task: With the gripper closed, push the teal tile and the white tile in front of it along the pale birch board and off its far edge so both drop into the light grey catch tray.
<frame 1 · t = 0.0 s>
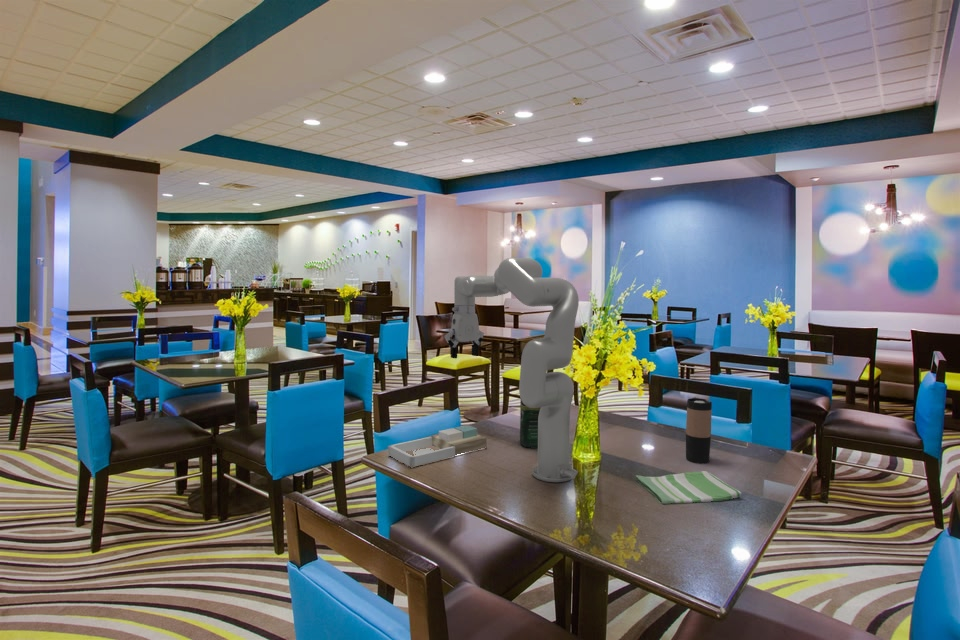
hand: (464, 356, 192), 31 cm above the table, tool pointing down, fingers open, 9 cm apart
birch board: (458, 447, 185), on the table
catch tray: (421, 456, 175), on the table
travel mug: (697, 460, 173), on the table
coffee jar: (531, 445, 189), on the table
teal tile: (465, 435, 187), point 4 cm above the table, touching birch board
dish towel: (686, 492, 149), on the table
white tile: (450, 438, 183), point 4 cm above the table, touching birch board
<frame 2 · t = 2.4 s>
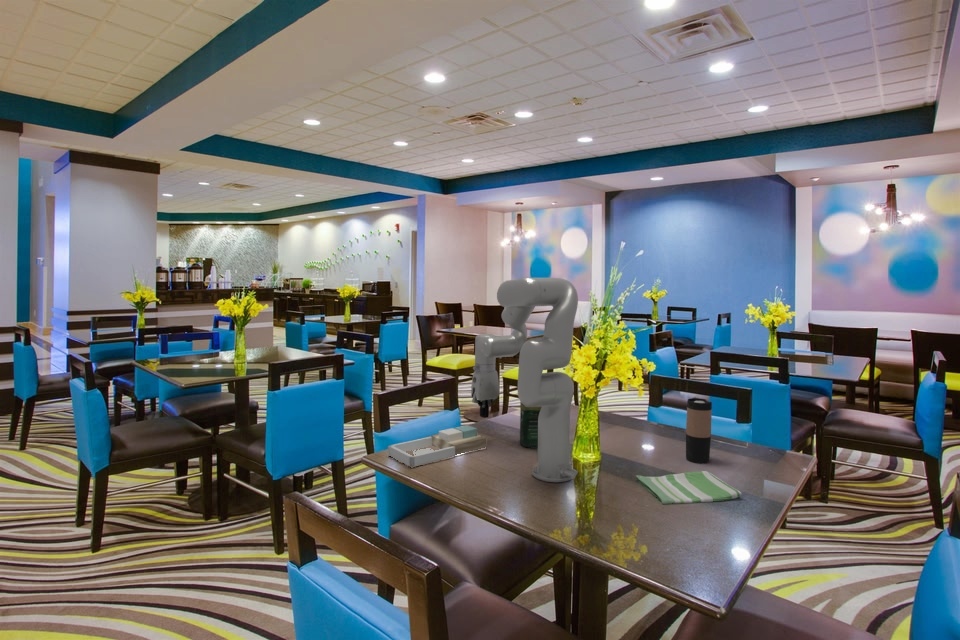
hand: (484, 416, 192), 9 cm above the table, tool pointing down, fingers closed
nothing on the table moved.
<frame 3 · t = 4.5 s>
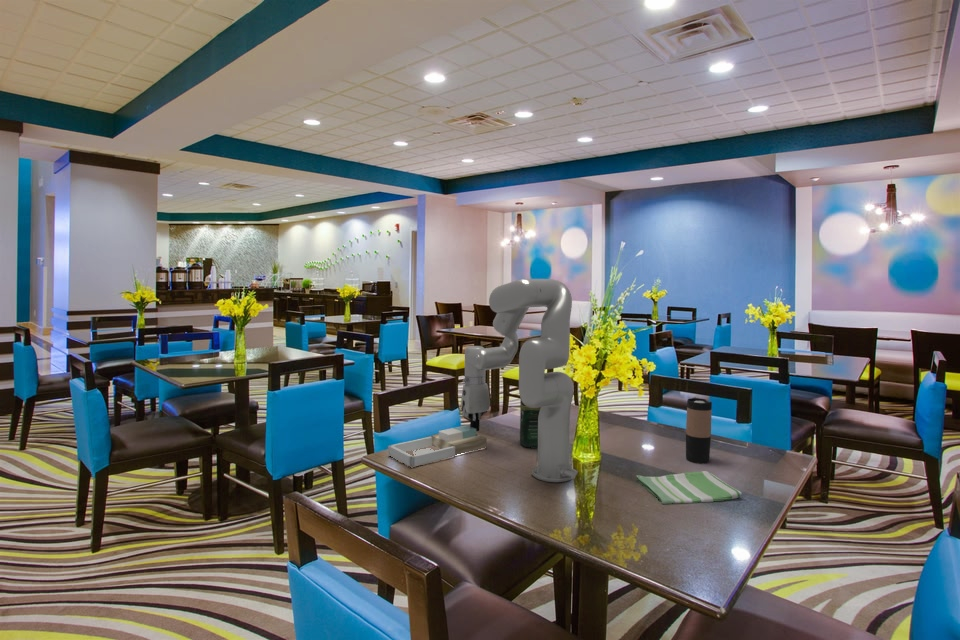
hand: (474, 430, 189), 5 cm above the table, tool pointing down, fingers closed
teal tile: (464, 435, 186), point 4 cm above the table, touching gripper
everything else where it was.
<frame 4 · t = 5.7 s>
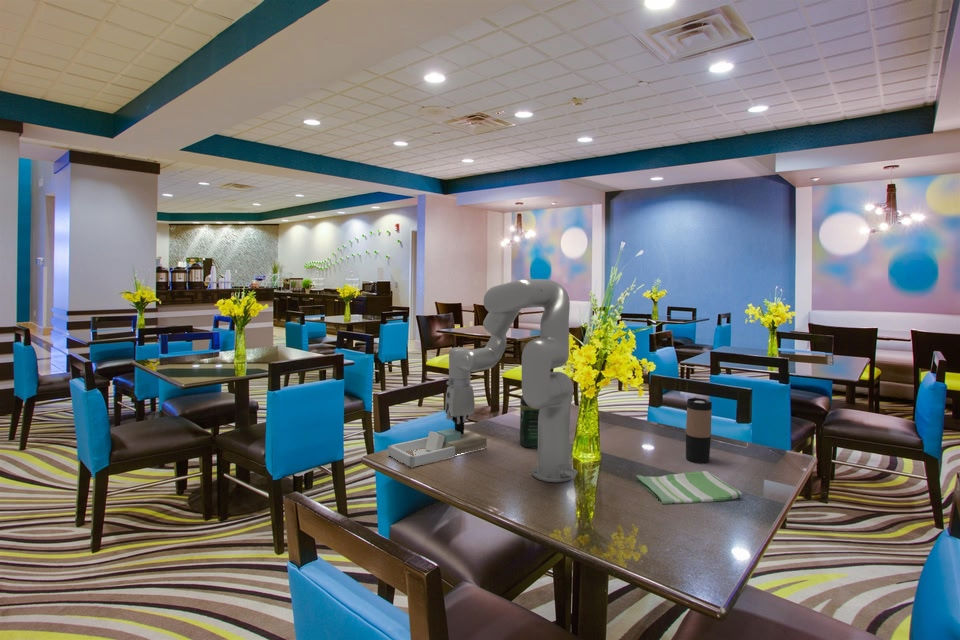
hand: (459, 433, 185), 5 cm above the table, tool pointing down, fingers closed
teal tile: (448, 438, 182), point 4 cm above the table, touching birch board, gripper
white tile: (437, 442, 180), point 3 cm above the table, tilted 71°, touching catch tray
everything else where it was.
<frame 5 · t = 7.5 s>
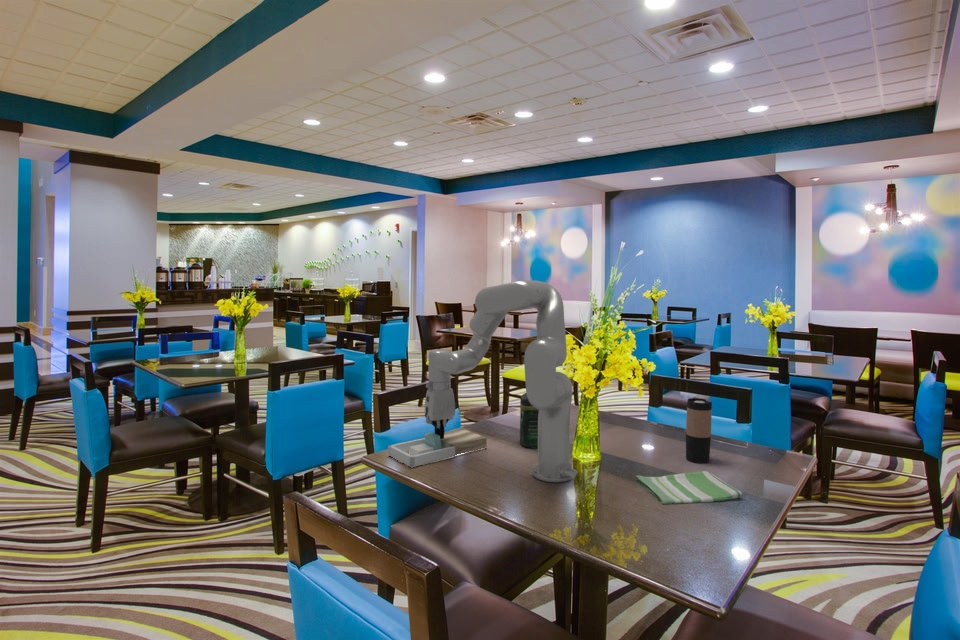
hand: (439, 438, 180), 5 cm above the table, tool pointing down, fingers closed
teal tile: (436, 442, 179), point 4 cm above the table, tilted 99°, touching catch tray, gripper
white tile: (421, 447, 176), point 3 cm above the table, tilted 180°, touching catch tray
everything else where it was.
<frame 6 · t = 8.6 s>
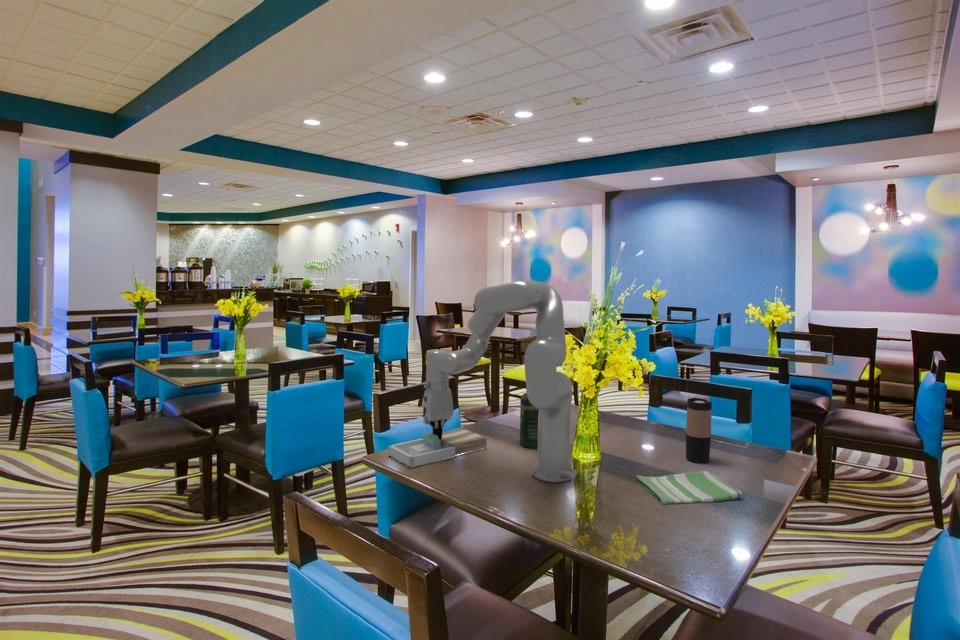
hand: (437, 438, 179), 5 cm above the table, tool pointing down, fingers closed
teal tile: (435, 441, 179), point 4 cm above the table, tilted 108°, touching catch tray, gripper, white tile
white tile: (421, 447, 176), point 3 cm above the table, tilted 180°, touching catch tray, teal tile
everything else where it was.
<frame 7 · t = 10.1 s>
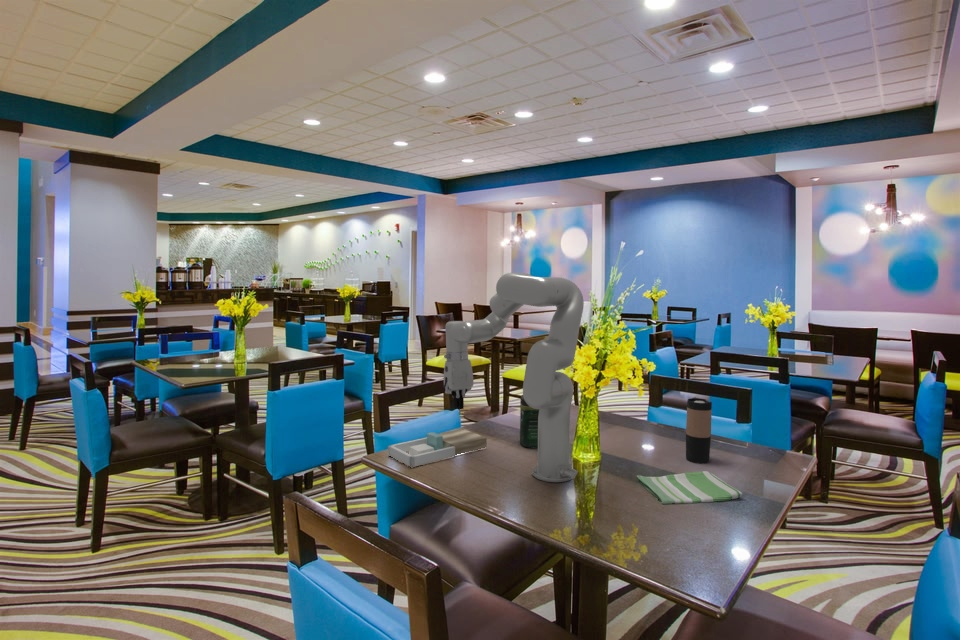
hand: (459, 408, 183), 14 cm above the table, tool pointing down, fingers closed
teal tile: (437, 442, 179), point 3 cm above the table, tilted 90°, touching catch tray
white tile: (421, 447, 176), point 3 cm above the table, tilted 180°, touching catch tray
everything else where it was.
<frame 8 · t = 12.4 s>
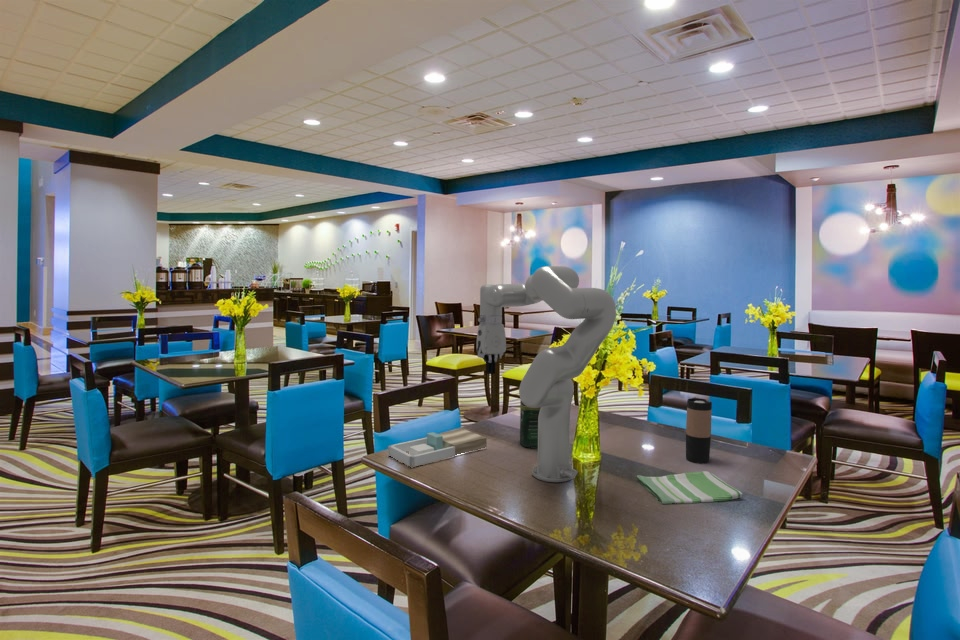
hand: (490, 373, 180), 27 cm above the table, tool pointing down, fingers closed
nothing on the table moved.
at the end: teal tile inside the target area (8.9 cm from its centre), point 3.5 cm above the table; white tile inside the target area (2.6 cm from its centre), point 3.0 cm above the table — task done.
